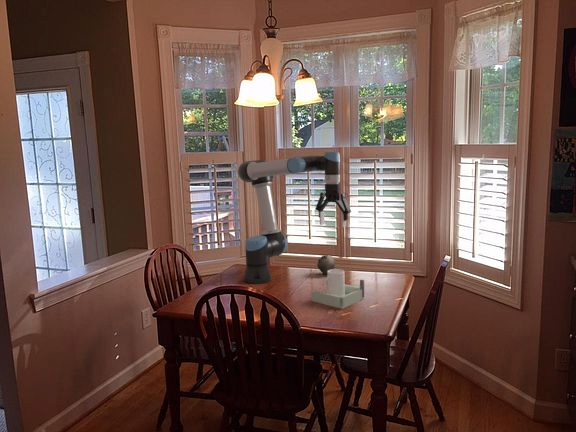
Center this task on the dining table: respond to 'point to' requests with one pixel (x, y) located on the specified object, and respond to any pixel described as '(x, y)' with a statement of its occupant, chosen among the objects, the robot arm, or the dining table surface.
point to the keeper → (350, 297)
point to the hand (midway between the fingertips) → (332, 225)
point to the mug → (335, 282)
